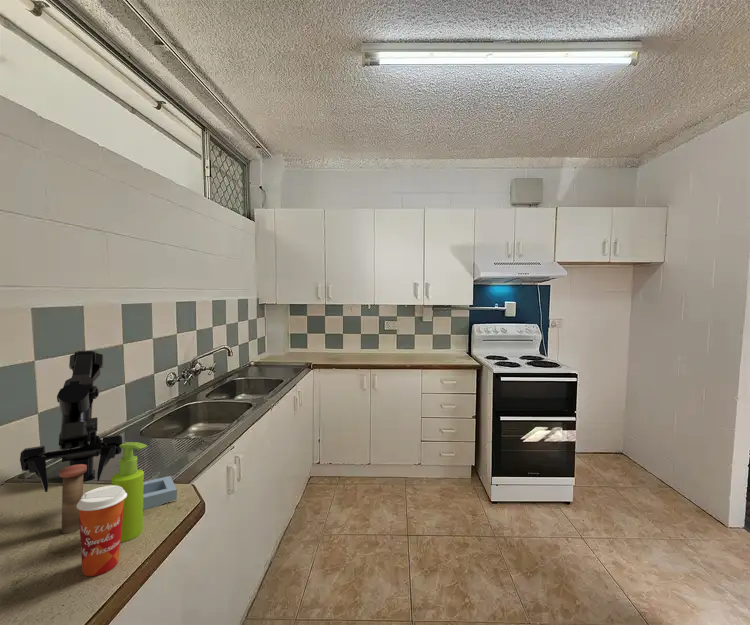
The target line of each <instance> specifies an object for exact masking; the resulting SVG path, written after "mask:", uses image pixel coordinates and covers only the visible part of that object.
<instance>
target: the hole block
mask: <svg viewBox="0 0 750 625" xmlns="http://www.w3.org/2000/svg"><path fill="white" fill-rule="evenodd" d="M177 498H178V489H177V487H176V485H175V483H174V480H173V478H172V476H171V475H169V476H168V475H166V476H164V477H160V478H155V479H150V480H145V481H144V487H143V511H144V510H148V509H152V508H155V506H156V507H159V505H160V506H163V505H162V504H164V503H167V502H170V501H173V500H177ZM177 501H178V500H177ZM167 504H168V503H167ZM164 505H165V504H164Z"/></svg>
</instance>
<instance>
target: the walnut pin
mask: <svg viewBox="0 0 750 625" xmlns="http://www.w3.org/2000/svg"><path fill="white" fill-rule="evenodd" d="M86 471H87V465H84V464H78V465H72V466H69V465H68V466H65V467H63V468H60V469H59V471H58V472H59V473H58V476H59V478H62V490H61V491H62V492H61V493H62V496H61V497H62V499H61V500H62V501H61V508H62V509H61V533H62V534H71V533H75V532H77V531H80V527H79V509H78V508H77V504H78V502H79V501H80V499H81V497H82V496H83V494H84V481H83V473H85V472H86Z"/></svg>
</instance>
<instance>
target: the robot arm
mask: <svg viewBox="0 0 750 625" xmlns="http://www.w3.org/2000/svg"><path fill="white" fill-rule="evenodd" d="M68 367H69V370H72V374H71V377H70V378H68V379H66V380H65V381H64V384H63V387H62V388H60V389H59V391H58V392H57V396H56V399H57V400H56V401H57V403H58V404H59V410H60V412H61V425H60V433H59V434H58V435H59V436H58V437H59V438H58V446H59V448H58V449H52V450H46V446H45V445H40V446H34V447H33V446H32V447H26V448H24V449H22V451H20V454H19V455H20V456H19V462H20V467H21V468H20V469H21V471H22V472H23V471H24V472H29V473H30V474H34V473H35V474H36V475H37V477H38V479H39V480H40V482H41V485H42V488H43V491H44V492H45V493H48V491H49V481H48V473H47V472H48V471H47V462H46V461H49V460H53V459H59V458H60V459H61V463H65V462H68V466H72V465H78V464H84V465H87V471H86V472H85V473H83V482H84V481H89V480H94V479H95V478H96V479H97V482H99V481H100V480H101V478H102V475H103V473H104V470H105V468H106V466H107V465H108V463H109V461H110V460H111V459H115V457H116V455H117V456H118V455H119V454H122V448H120V445H121V444H123V436H122V435H121V434H119V433H118V434H112V435H105V436H103V437H102V438H101V437H100V435H98V434H97V432H98V417H92V416H93V403H94V400H97V398H98V397H99V395H100V389H99V388H98V386H97V385H95V381H96V380H97V379H98V378H99V377H100V375H101V371H102V368H104V355H103V354H102V353H98V352H96V351H95V350H77V351H74V353H73V354H71V355H70V356H69V363H68ZM94 457H99V460H98V465H97V466H98V468H97V474H96V469H94V462H95V461H94Z"/></svg>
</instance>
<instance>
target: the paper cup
mask: <svg viewBox="0 0 750 625" xmlns="http://www.w3.org/2000/svg"><path fill="white" fill-rule="evenodd" d="M126 497H127V493H125V490H124V489H123V488H122V487H120V486H116V485H112V484H111V485H104V486H100V487H97V488H96V487H95V488H94V489H90V490H89V491H86V492H85V493H83V496H82V497H81V499H80V501H79V502H78V504H77V508H78V509H79V527H80V529H79V538H80V539H79V540H80V554H81V555H80V558H81V570H82V574H83V575H84V576H86V577H96V576H100V575H103V574H106V573H107V572H109V571H111V570H113V569H114V568H115V567H116V566H117V565H118V564H119V560H120V551H121V543H122V542H121V531H122V519H123V507H124V499H125V498H126Z"/></svg>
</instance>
